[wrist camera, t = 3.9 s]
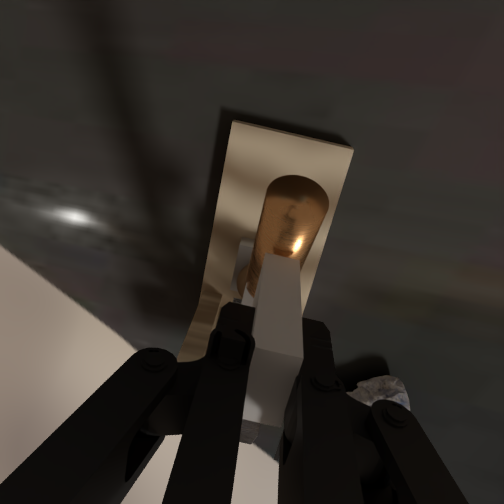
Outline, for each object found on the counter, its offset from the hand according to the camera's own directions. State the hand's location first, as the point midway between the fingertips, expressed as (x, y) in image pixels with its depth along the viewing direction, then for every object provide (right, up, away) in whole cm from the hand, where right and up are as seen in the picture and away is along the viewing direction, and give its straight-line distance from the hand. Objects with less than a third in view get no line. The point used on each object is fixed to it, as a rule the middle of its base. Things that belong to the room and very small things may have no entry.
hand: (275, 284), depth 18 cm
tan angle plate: (+1, +2, +24) cm, 25 cm away
